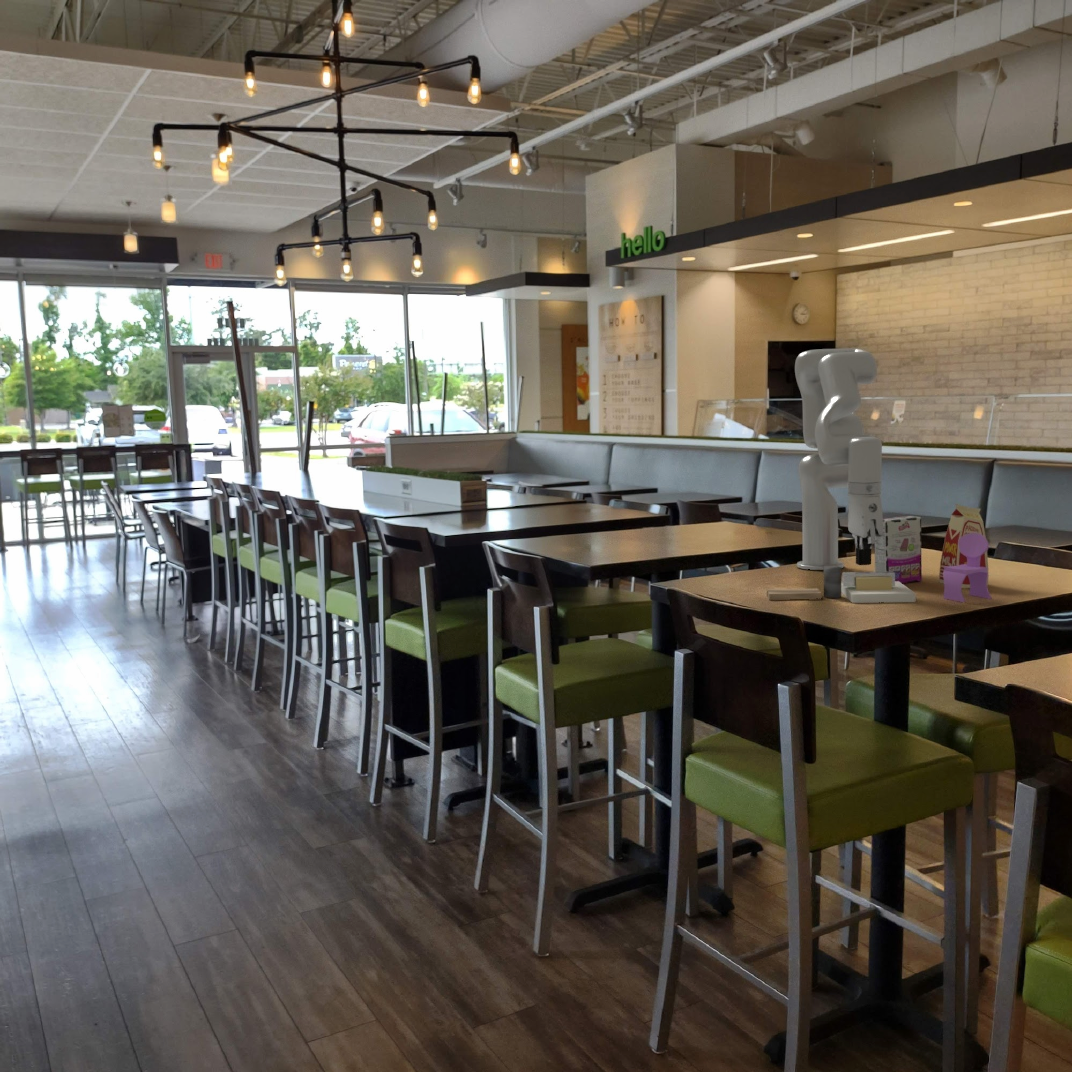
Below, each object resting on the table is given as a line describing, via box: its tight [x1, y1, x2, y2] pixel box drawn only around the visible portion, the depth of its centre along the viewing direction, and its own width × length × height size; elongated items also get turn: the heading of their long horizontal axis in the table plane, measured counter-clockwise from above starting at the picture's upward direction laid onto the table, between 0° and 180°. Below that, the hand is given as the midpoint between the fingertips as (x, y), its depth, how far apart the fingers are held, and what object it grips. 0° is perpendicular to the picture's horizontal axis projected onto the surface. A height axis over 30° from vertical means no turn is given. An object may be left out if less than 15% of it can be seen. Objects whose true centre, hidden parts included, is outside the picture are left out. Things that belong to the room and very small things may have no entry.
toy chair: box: [942, 533, 993, 603], centre depth 230 cm, size 8×9×15 cm
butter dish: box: [841, 577, 916, 604], centre depth 238 cm, size 16×14×5 cm
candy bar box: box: [874, 515, 923, 584], centre depth 254 cm, size 11×5×16 cm, turn 112°
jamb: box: [766, 566, 842, 601], centre depth 240 cm, size 6×17×7 cm, turn 83°
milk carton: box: [938, 503, 990, 589], centre depth 248 cm, size 9×9×20 cm
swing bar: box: [841, 571, 895, 587], centre depth 238 cm, size 12×2×3 cm, turn 83°
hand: (863, 564), depth 244 cm, fingers closed
